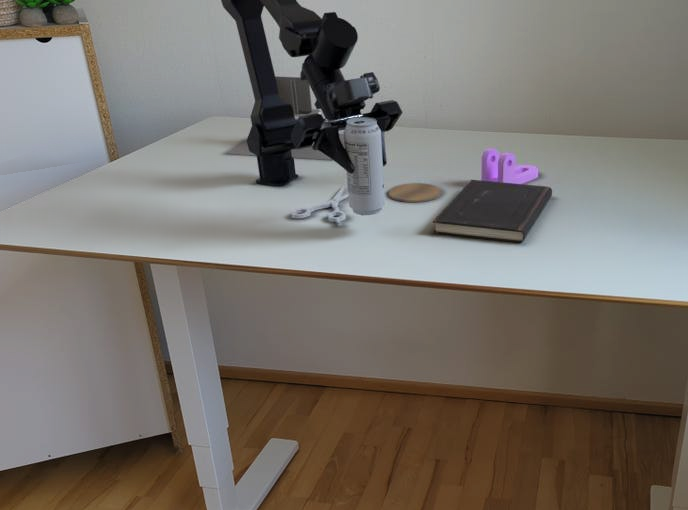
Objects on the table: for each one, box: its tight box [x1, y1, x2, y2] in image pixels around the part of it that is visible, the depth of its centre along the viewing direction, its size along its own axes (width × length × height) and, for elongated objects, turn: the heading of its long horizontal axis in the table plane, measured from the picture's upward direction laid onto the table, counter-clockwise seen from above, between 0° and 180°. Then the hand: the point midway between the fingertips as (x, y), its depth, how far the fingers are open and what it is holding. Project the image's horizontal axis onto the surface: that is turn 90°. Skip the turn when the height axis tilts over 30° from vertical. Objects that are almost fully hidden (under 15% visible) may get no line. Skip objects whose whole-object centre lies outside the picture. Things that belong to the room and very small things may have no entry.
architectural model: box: [226, 75, 345, 161], centre depth 180 cm, size 20×25×15 cm
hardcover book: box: [432, 179, 553, 244], centre depth 143 cm, size 16×23×2 cm
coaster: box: [388, 182, 441, 203], centre depth 154 cm, size 10×10×1 cm
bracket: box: [480, 147, 539, 184], centre depth 159 cm, size 13×6×7 cm, turn 138°
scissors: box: [290, 184, 349, 227], centre depth 149 cm, size 11×1×20 cm
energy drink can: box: [343, 117, 386, 216], centre depth 131 cm, size 6×6×15 cm
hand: (368, 168), depth 130 cm, fingers closed on energy drink can, 6 cm apart
